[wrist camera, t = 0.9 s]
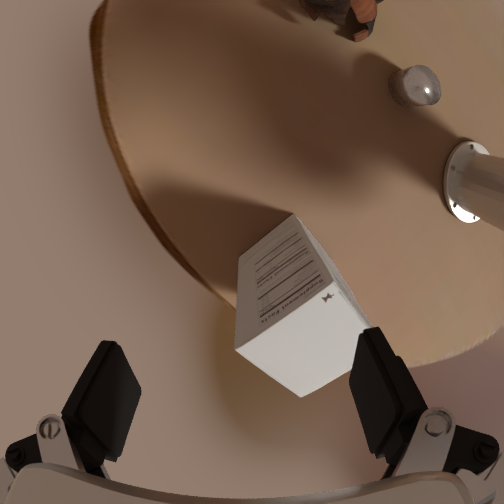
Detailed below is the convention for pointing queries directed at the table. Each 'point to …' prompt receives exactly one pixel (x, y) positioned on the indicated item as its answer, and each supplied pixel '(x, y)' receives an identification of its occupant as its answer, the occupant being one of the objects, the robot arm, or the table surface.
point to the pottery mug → (345, 12)
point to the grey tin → (415, 86)
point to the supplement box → (296, 310)
